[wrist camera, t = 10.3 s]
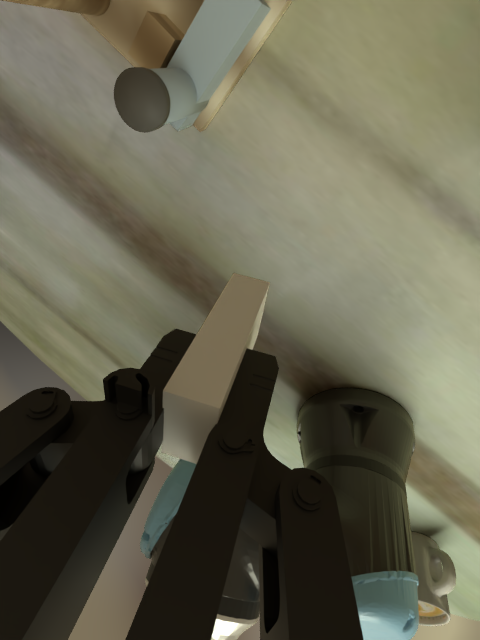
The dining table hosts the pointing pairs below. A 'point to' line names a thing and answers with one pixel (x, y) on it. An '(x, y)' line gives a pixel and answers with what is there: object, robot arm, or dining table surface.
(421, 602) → the coffee mug
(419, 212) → the dining table surface
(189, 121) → the hinged leg
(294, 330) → the dining table surface
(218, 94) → the wooden twin post stand
